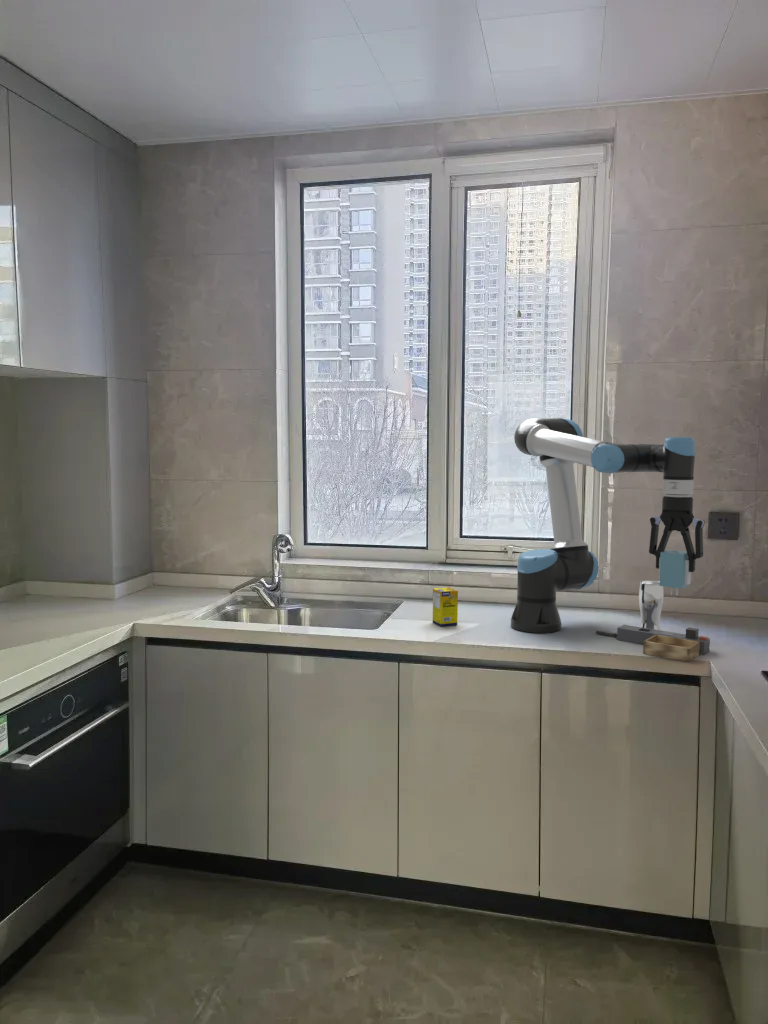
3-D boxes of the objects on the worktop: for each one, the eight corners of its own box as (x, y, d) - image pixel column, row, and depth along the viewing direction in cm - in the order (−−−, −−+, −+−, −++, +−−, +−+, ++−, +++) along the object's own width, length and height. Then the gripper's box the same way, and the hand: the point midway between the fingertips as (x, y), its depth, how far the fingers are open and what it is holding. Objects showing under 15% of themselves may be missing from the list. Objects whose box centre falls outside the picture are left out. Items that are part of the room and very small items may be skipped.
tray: (643, 653, 206) (643, 641, 205) (654, 646, 213) (655, 634, 212) (689, 662, 198) (689, 648, 198) (699, 654, 205) (700, 641, 205)
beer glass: (632, 629, 232) (634, 580, 230) (651, 627, 234) (653, 579, 233) (648, 635, 225) (650, 585, 224) (667, 633, 228) (669, 583, 226)
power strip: (592, 635, 225) (592, 615, 224) (598, 632, 228) (599, 612, 228) (703, 654, 205) (704, 633, 205) (709, 650, 209) (710, 629, 208)
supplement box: (457, 625, 237) (458, 590, 235) (440, 626, 234) (440, 591, 233) (449, 620, 242) (449, 586, 241) (432, 622, 240) (432, 588, 239)
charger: (658, 595, 203) (660, 551, 202) (666, 592, 208) (668, 549, 207) (682, 598, 200) (683, 554, 199) (689, 594, 204) (690, 551, 203)
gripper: (636, 494, 204) (634, 580, 206) (711, 498, 193) (707, 588, 195) (646, 493, 210) (644, 576, 212) (719, 496, 198) (716, 584, 201)
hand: (674, 582), depth 204 cm, fingers closed on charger, 6 cm apart
